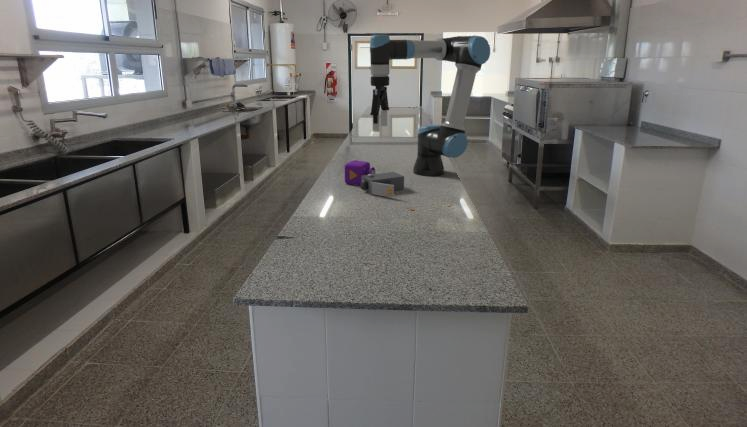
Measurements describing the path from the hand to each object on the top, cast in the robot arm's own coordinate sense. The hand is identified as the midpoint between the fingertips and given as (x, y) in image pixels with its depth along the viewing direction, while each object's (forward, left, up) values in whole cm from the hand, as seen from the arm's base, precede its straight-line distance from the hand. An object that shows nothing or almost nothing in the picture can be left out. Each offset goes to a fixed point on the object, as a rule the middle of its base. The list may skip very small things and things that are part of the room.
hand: (380, 128), depth 203 cm
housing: (-2, 0, -26) cm, 26 cm away
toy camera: (+2, -13, -27) cm, 30 cm away
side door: (+4, +10, -26) cm, 28 cm away
